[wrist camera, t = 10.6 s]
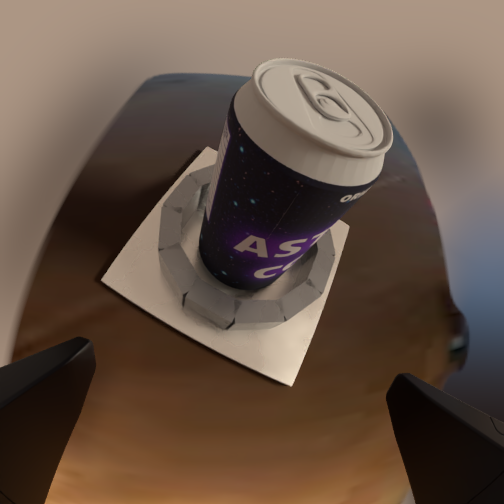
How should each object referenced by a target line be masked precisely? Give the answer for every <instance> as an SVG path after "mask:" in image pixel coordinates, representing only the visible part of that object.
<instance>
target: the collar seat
mask: <svg viewBox="0 0 504 504" xmlns="http://www.w3.org/2000/svg"><path fill="white" fill-rule="evenodd" d="M217 154H218V152H217V151H215V150H213V149H211V148H209V147H206V148H205V149H204V151H203V152H202V153H201V154H200V155H199V156H198V157H197V158H196V159H195V160H194V161H193V163H192V164H191V165H190V166H189V167H188V168H187V169H186V170H185V172H184V173H183V174H182V175H181V176H180V177H179V178H178V180H177V181H176V182H175V183H174V184H173V185H172V187H171V188H170V189H169V190H168V191H167V193H166V194H165V195H164V196H163V197H162V199H161V200H160V201H159V202H158V204H157V205H156V206H155V207H154V208H153V210H152V211H151V212H150V214H149V215H148V216H147V217H146V219H145V220H144V221H143V222H142V224H141V225H140V226H139V228H138V229H137V230H136V232H135V233H134V234H133V236H132V237H131V238H130V240H129V241H128V242H127V244H126V245H125V246H124V248H123V249H122V251H121V252H120V253H119V255H118V256H117V258H116V259H115V261H114V262H113V263H112V265H111V266H110V268H109V269H108V271H107V272H106V274H105V275H104V277H103V278H102V280H101V281H102V282H103V284H105V285H106V286H108V287H109V288H111V289H112V290H113V291H115V292H116V293H118V294H119V295H121V296H122V297H124V298H125V299H127V300H128V301H130V302H131V303H133V304H135V305H136V306H138V307H139V308H141V309H142V310H144V311H145V312H147V313H149V314H150V315H152V316H154V317H155V318H157V319H158V320H160V321H162V322H163V323H165V324H167V325H168V326H170V327H172V328H174V329H175V330H177V331H179V332H180V333H182V334H184V335H186V336H187V337H189V338H191V339H193V340H195V341H196V342H198V343H200V344H202V345H204V346H206V347H207V348H209V349H211V350H213V351H215V352H217V353H219V354H221V355H223V356H225V357H227V358H229V359H231V360H233V361H235V362H237V363H239V364H241V365H243V366H245V367H247V368H249V369H251V370H253V371H255V372H257V373H260V374H262V375H264V376H266V377H268V378H271V379H273V380H275V381H277V382H280V383H282V384H284V385H286V386H292V385H293V382H294V380H295V378H296V375H297V373H298V371H299V368H300V366H301V364H302V361H303V359H304V356H305V354H306V351H307V349H308V346H309V344H310V341H311V339H312V336H313V334H314V331H315V328H316V326H317V323H318V321H319V318H320V315H321V312H322V310H323V307H324V304H325V301H326V299H327V296H328V293H329V290H330V287H331V284H332V281H333V278H334V275H335V272H336V269H337V266H338V263H339V260H340V256H341V253H342V250H343V247H344V243H345V240H346V237H347V233H348V230H349V226H348V225H347V224H345V223H344V222H342V221H340V220H338V221H337V222H336V223H335V224H334V225H333V226H332V227H331V228H330V229H329V230H328V231H327V232H326V233H325V234H324V235H323V236H322V237H321V238H320V239H319V240H318V241H317V242H316V243H315V244H314V245H313V246H312V247H311V248H310V249H309V250H307V251H306V252H305V253H304V254H303V255H302V256H301V257H300V258H299V259H298V260H297V261H296V262H295V263H294V264H293V265H292V266H291V267H290V268H289V269H288V270H287V271H286V272H285V273H284V274H282V275H281V276H280V277H279V278H278V279H277V280H276V281H275V282H273V283H272V284H270V285H269V286H267V287H264V288H261V289H257V290H240V289H235V288H232V287H229V286H227V285H225V284H223V283H222V282H220V281H219V280H217V279H216V278H215V277H214V276H213V275H212V274H211V273H210V272H209V271H208V269H207V268H206V267H205V265H204V263H203V261H202V258H201V256H200V252H199V236H200V231H201V226H202V221H203V216H204V212H205V207H206V202H207V198H208V193H209V189H210V184H211V180H212V175H213V171H214V167H215V163H216V158H217Z"/></svg>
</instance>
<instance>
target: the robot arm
mask: <svg viewBox="0 0 504 504" xmlns="http://www.w3.org/2000/svg"><path fill="white" fill-rule="evenodd" d="M95 368H96V361H95V355H94V348H93V343H92V341H91V340H89V339H86V338H83V337H76V338H73V339H71V340H68V341H66V342H64V343H61V344H59V345H56V346H54V347H51V348H49V349H46V350H44V351H41V352H39V353H36V354H34V355H31V356H29V357H26V358H24V359H21V360H19V361H16V362H13V363H11V364H8V365H6V366H3V367H1V368H0V504H45V501H46V498H47V495H48V492H49V489H50V486H51V483H52V481H53V478H54V475H55V472H56V470H57V467H58V465H59V462H60V460H61V457H62V455H63V452H64V450H65V447H66V445H67V443H68V440H69V438H70V436H71V433H72V431H73V429H74V427H75V424H76V422H77V420H78V418H79V415H80V413H81V410H82V407H83V404H84V401H85V398H86V395H87V392H88V389H89V386H90V383H91V381H92V378H93V375H94V372H95ZM386 401H387V405H388V409H389V413H390V417H391V422H392V426H393V430H394V434H395V438H396V441H397V444H398V447H399V450H400V453H401V456H402V459H403V463H404V466H405V469H406V472H407V475H408V479H409V482H410V486H411V489H412V493H413V496H414V500H415V503H416V504H504V423H503V422H500V421H499V420H497V419H495V418H493V417H489V415H487V414H484V413H483V412H481V411H479V410H477V409H475V408H473V407H471V406H469V405H467V404H465V403H463V402H461V401H460V400H458V399H456V398H454V397H452V396H450V395H448V394H447V393H445V392H443V391H441V390H439V389H437V388H436V387H434V386H432V385H430V384H428V383H426V382H425V381H423V380H421V379H419V378H417V377H415V376H414V375H412V374H410V373H401V374H398V375H397V376H396V377H395V379H394V381H393V383H392V384H391V386H390V388H389V390H388V391H387V394H386Z"/></svg>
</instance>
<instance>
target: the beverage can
mask: <svg viewBox="0 0 504 504" xmlns="http://www.w3.org/2000/svg"><path fill="white" fill-rule="evenodd" d="M392 141H393V132H392V128H391V125H390V123H389V120H388V118H387V117H386V115H385V113H384V112H383V110H382V109H381V108H380V107H379V105H378V104H377V103H376V102H375V101H374V100H373V99H372V98H371V97H370V96H369V95H368V94H367V93H366V92H365V91H363V90H362V89H361V88H360V87H358V86H357V85H356V84H354V83H353V82H351V81H350V80H348V79H347V78H345V77H343V76H341V75H340V74H338V73H336V72H334V71H332V70H330V69H328V68H325V67H323V66H320V65H317V64H314V63H311V62H307V61H303V60H298V59H290V58H278V59H271V60H268V61H265V62H263V63H261V64H259V65H258V66H257V67H256V68H255V70H254V71H253V74H252V78H251V80H249V81H248V82H247V83H246V84H245V85H243V86H242V87H241V88H240V89H239V90H238V91H237V92H236V93H235V95H234V96H233V98H232V101H231V104H230V108H229V111H228V115H227V119H226V123H225V126H224V130H223V134H222V138H221V142H220V146H219V150H218V154H217V158H216V163H215V167H214V171H213V175H212V180H211V184H210V189H209V193H208V198H207V202H206V207H205V212H204V216H203V221H202V226H201V231H200V236H199V252H200V256H201V258H202V261H203V263H204V265H205V267H206V268H207V269H208V271H209V272H210V273H211V274H212V275H213V276H214V277H215V278H216V279H217V280H219V281H220V282H222V283H223V284H225V285H227V286H229V287H232V288H235V289H240V290H257V289H261V288H264V287H267V286H269V285H270V284H272V283H273V282H275V281H276V280H277V279H278V278H279V277H280V276H281V275H282V274H284V273H285V272H286V271H287V270H288V269H289V268H290V267H291V266H292V265H293V264H294V263H295V262H296V261H297V260H298V259H299V258H300V257H301V256H302V255H303V254H304V253H305V252H306V251H307V250H309V249H310V248H311V247H312V246H313V245H314V244H315V243H316V242H317V241H318V240H319V239H320V238H321V237H322V236H323V235H324V234H325V233H326V232H327V231H328V230H329V229H330V228H331V227H332V226H333V225H334V224H335V223H336V222H337V221H338V220H339V219H340V218H341V217H342V216H343V215H344V214H345V213H346V212H347V211H348V210H349V209H350V208H351V207H352V206H353V205H354V204H355V203H356V202H357V201H358V200H359V199H360V198H361V197H362V196H363V195H364V194H365V192H366V191H367V190H368V189H369V188H370V187H371V186H372V185H373V184H374V183H375V182H376V181H377V180H378V178H379V176H380V174H381V171H382V167H383V161H384V155H385V153H386V152H387V151H388V149H389V148H390V147H391V145H392Z"/></svg>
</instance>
